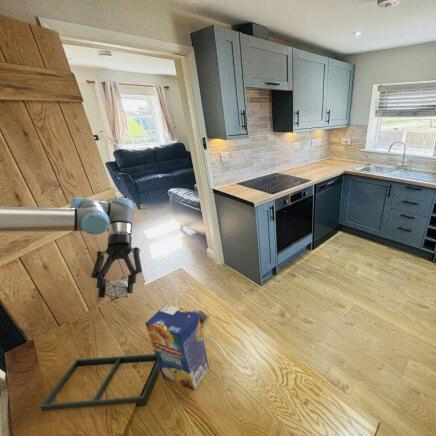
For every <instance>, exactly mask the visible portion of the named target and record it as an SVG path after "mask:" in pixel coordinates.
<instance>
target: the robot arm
mask: <svg viewBox="0 0 436 436" xmlns="http://www.w3.org/2000/svg"><path fill="white" fill-rule="evenodd" d="M133 217H134V202H133V201H132V200H130V199H128V198H126V197H125V198H124V197H115V198H113V199H112V200H111V201H104V200H97V199H90V198H87V197H77V196H76V197H73V198H72V199H71V201H70V205H69V207H47V206H46V207H45V206H9V205H0V234H1V233H2V234H6V233H7V234H8V233H10V234H12V233H50V232H51V233H54V232H84V233H86V234H89V235H92V236H93V235H94V236H96V235H101V234H103V233H105V232H107V230H108V236H107V248H106V249H105V250H97V251H96V260H95V263H94V266H93V268H92V272H91V275H90V277H91V278H92V279H96V289H98V293H97V295H98V298H101V299H103V298H105V297H106V295H105V294H104V295H102V294H103V293H105V290H106V287H107V279H106V278H105V277H106V276H107V274H108V272H109V271H110V268H111V267H112V265H113V264H114V263H115V261H118V260H124V264H125V265H126V267H127V270H128V271H129V274H128V275H127V283H128V286H127V294H133V293H134V292H133V290H134V284H136V282H137V275H139V274H141V273H142V272H143V269H142V262H141V258H140V252H141V249H140V248H139V247H137V246H135V247H132V234H133ZM131 253H132V255H133V261H134V265H133V263H132V260H131V258H130V256H129V255H130V254H131ZM106 255H107V257H106ZM105 257H106V258H105ZM105 259H106V260H105ZM104 261H105V262H104ZM103 263H104V264H103Z"/></svg>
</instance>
